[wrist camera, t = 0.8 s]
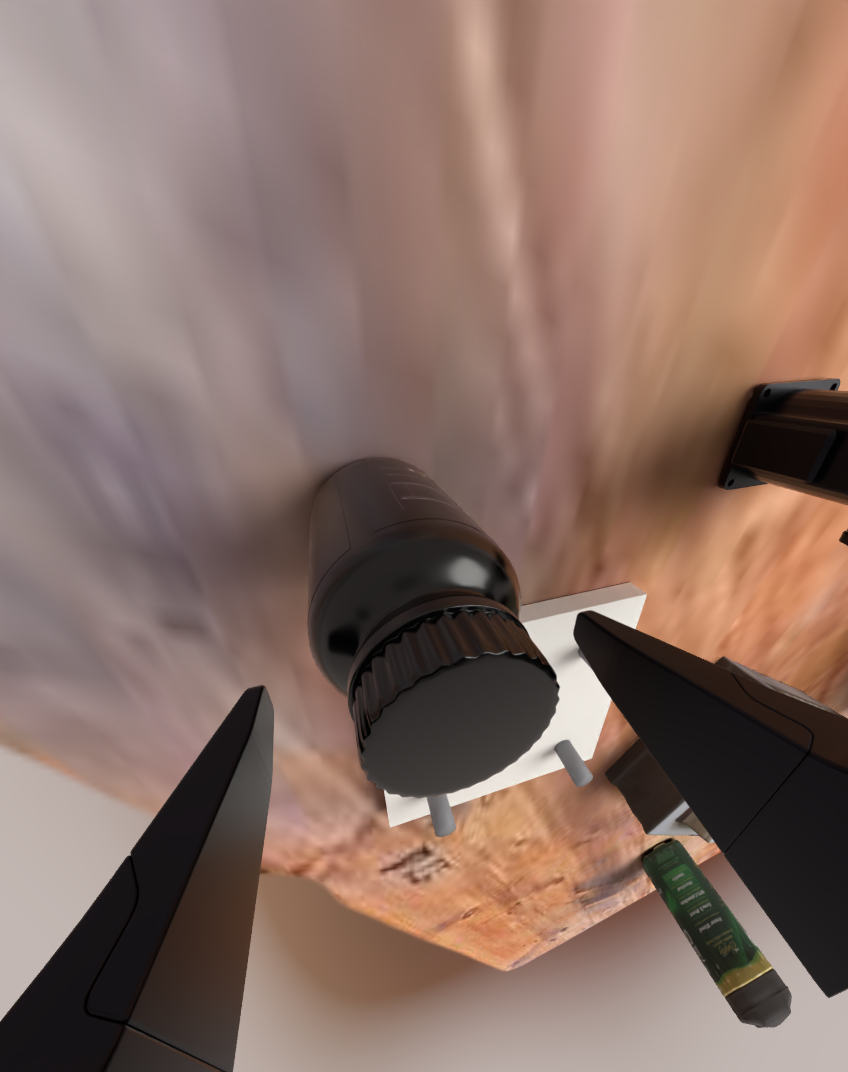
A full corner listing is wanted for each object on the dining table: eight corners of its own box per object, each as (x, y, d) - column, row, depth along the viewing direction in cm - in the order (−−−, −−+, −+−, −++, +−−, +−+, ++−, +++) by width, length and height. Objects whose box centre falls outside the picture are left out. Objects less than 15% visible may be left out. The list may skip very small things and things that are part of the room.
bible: (673, 798, 51) (743, 885, 43) (585, 766, 38) (660, 881, 30) (806, 696, 47) (913, 770, 39) (757, 621, 34) (902, 708, 26)
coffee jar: (636, 855, 58) (756, 1041, 43) (676, 832, 59) (810, 1008, 43) (640, 869, 63) (748, 1041, 48) (677, 848, 64) (797, 1011, 48)
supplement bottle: (402, 589, 20) (490, 828, 10) (287, 549, 17) (242, 833, 7) (465, 489, 18) (652, 657, 8) (348, 425, 15) (410, 562, 5)
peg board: (630, 582, 25) (686, 622, 22) (581, 743, 35) (614, 791, 31) (359, 641, 21) (369, 705, 17) (387, 807, 31) (397, 872, 27)
